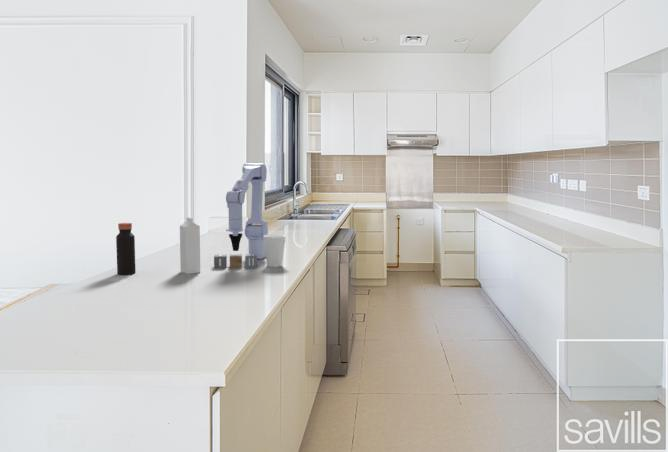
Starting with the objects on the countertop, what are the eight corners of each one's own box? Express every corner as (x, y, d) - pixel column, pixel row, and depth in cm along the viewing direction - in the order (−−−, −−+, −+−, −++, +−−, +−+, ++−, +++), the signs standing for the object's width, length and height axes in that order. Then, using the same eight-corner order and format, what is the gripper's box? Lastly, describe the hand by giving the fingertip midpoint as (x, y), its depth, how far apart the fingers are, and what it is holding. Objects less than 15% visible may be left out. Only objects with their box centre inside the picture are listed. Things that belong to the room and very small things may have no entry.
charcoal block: (214, 266, 242) (214, 254, 242) (226, 266, 243) (226, 254, 242) (214, 268, 237) (213, 256, 237) (226, 268, 238) (226, 256, 237)
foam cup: (287, 264, 248) (287, 234, 247) (283, 267, 239) (283, 237, 238) (266, 263, 249) (265, 234, 248) (261, 267, 240) (261, 237, 239)
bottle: (129, 275, 219) (128, 224, 217) (113, 274, 221) (112, 224, 219) (138, 272, 226) (137, 222, 224) (123, 271, 227) (122, 222, 225)
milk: (186, 274, 223) (185, 218, 221) (180, 272, 228) (179, 217, 226) (200, 272, 227) (199, 218, 225) (194, 270, 232) (193, 216, 229)
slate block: (245, 265, 244) (245, 254, 244) (257, 265, 245) (257, 253, 244) (245, 267, 239) (245, 256, 239) (257, 267, 240) (257, 255, 239)
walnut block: (230, 266, 243) (230, 254, 243) (241, 265, 244) (241, 254, 243) (229, 268, 238) (229, 256, 238) (241, 267, 239) (241, 256, 238)
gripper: (226, 217, 245) (226, 248, 247) (225, 220, 231) (225, 253, 233) (242, 217, 246) (243, 248, 248) (242, 220, 232) (242, 253, 234)
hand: (235, 250), depth 240 cm, fingers closed
